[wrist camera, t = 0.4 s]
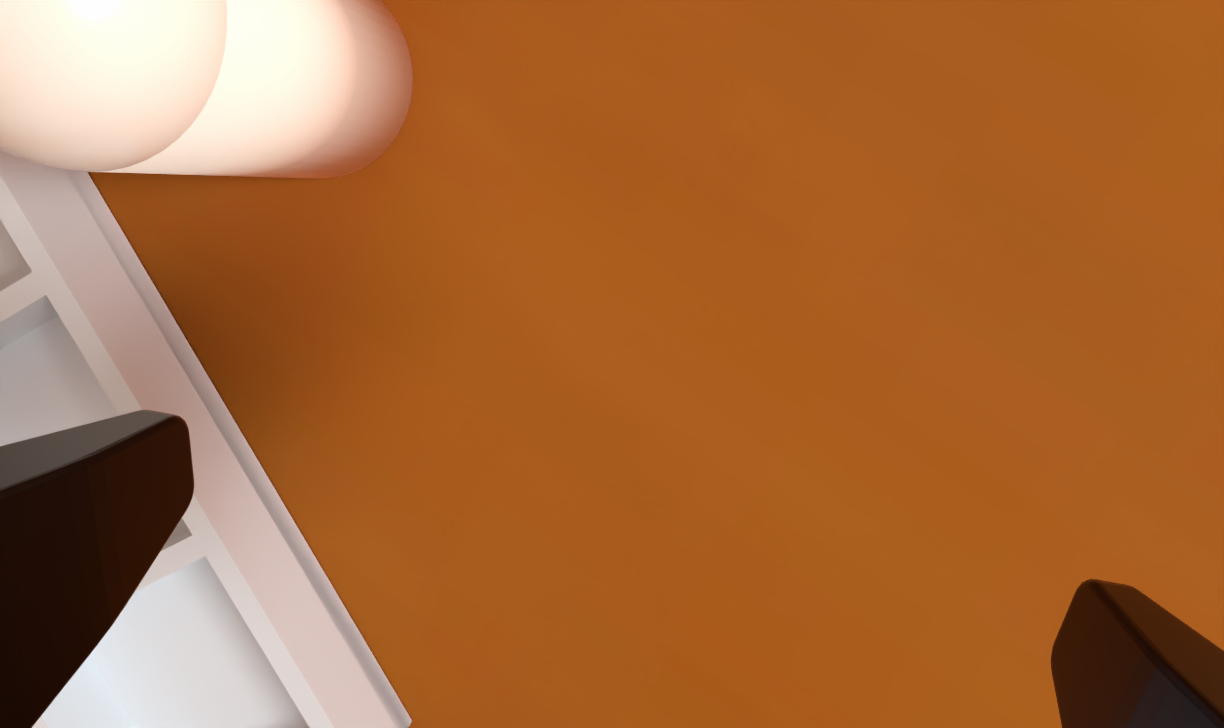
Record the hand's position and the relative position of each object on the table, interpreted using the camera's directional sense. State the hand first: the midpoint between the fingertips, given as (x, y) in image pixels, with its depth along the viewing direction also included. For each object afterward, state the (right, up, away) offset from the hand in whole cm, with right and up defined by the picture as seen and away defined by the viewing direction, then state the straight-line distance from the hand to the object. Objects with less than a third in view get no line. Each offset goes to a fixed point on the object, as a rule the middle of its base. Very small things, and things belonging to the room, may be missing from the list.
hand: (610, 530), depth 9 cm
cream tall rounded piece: (-7, +9, +13) cm, 18 cm away
